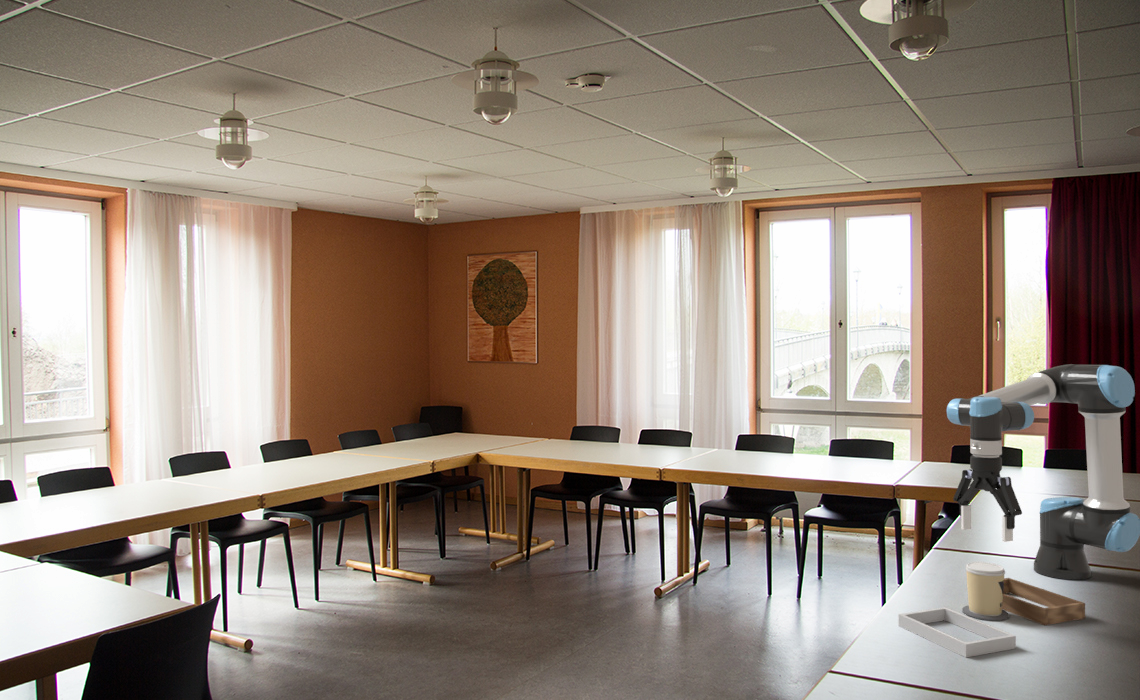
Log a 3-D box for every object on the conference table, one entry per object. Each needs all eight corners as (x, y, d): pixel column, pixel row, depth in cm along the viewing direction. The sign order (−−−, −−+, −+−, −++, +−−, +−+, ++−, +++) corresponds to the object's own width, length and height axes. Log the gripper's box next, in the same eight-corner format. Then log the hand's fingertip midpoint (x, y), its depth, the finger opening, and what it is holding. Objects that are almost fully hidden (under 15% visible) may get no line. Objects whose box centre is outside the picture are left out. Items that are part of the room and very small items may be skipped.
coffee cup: (1009, 618, 215) (1009, 572, 215) (971, 616, 217) (971, 570, 217) (998, 606, 225) (998, 562, 224) (961, 604, 226) (961, 560, 226)
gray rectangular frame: (945, 618, 218) (945, 607, 218) (1015, 648, 197) (1015, 635, 197) (898, 625, 213) (898, 614, 213) (965, 657, 192) (965, 644, 192)
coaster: (984, 605, 228) (984, 602, 228) (1018, 617, 217) (1018, 615, 217) (953, 609, 224) (953, 607, 224) (985, 623, 214) (985, 620, 214)
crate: (1008, 591, 239) (1008, 577, 239) (1085, 618, 216) (1085, 603, 216) (970, 597, 234) (970, 583, 234) (1044, 625, 212) (1044, 609, 212)
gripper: (939, 450, 231) (939, 526, 232) (1014, 463, 208) (1015, 547, 208) (960, 448, 234) (960, 523, 234) (1037, 461, 210) (1037, 544, 211)
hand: (986, 535), depth 221 cm, fingers open, 13 cm apart
